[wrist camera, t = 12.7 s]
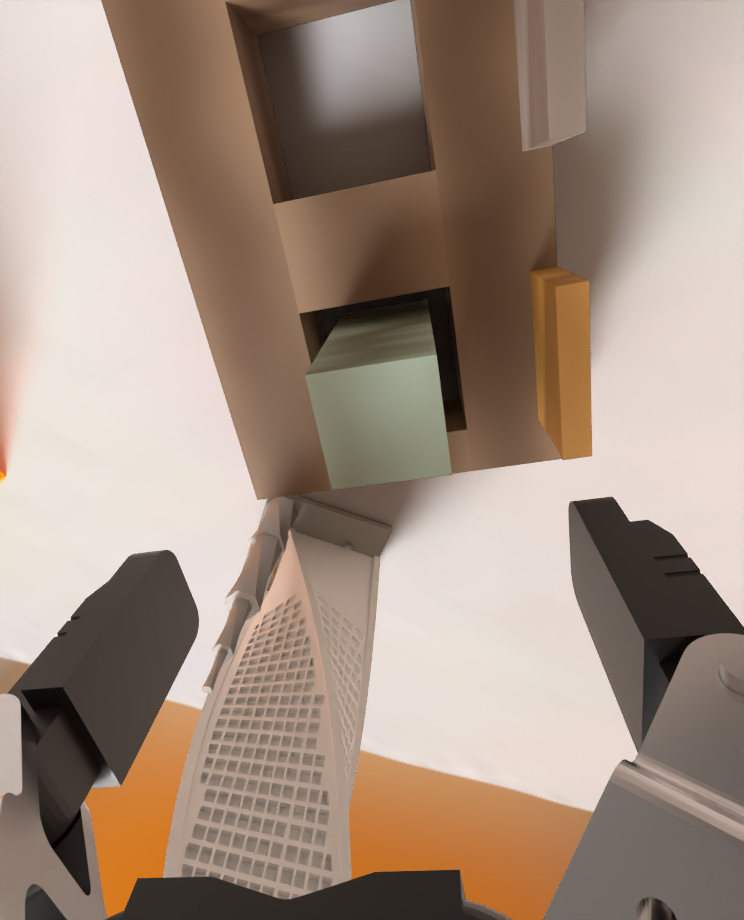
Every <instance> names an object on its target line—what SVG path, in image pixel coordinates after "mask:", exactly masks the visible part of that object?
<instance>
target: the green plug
mask: <svg viewBox="0 0 744 920" xmlns="http://www.w3.org/2000/svg"><path fill="white" fill-rule="evenodd" d="M305 377H306V382H307V386H308V390H309V394H310V399H311V403H312V407H313V411H314V416H315V420H316V424H317V428H318V433H319V437H320V441H321V445H322V450H323V454H324V458H325V462H326V467H327V471H328V475H329V479H330V484H331V488H332V490H336V489H344V488H352V487H360V486H368V485H375V484H383V483H391V482H399V481H407V480H415V479H423V478H431V477H438V476H446V475H452V470H451V463H450V455H449V447H448V439H447V432H446V424H445V416H444V408H443V400H442V393H441V385H440V377H439V369H438V362H437V354H436V348H435V342H434V337H433V331H432V325H431V319H430V313H429V307H428V301H427V299H426V300H420V301H414V302H408V303H402V304H396V305H390V306H385V307H379V308H373V309H367V310H361V311H355V312H349V313H344V314H342V315H341V317H340V318H339V320H338V322H337V323H336V325H335V326H334V328H333V330H332V331H331V333H330V335H329V336H328V338H327V340H326V341H325V343H324V345H323V346H322V348H321V350H320V351H319V353H318V355H317V356H316V358H315V359H314V361H313V363H312V364H311V366H310V368H309V369H308V371H307V373H306V374H305Z"/></svg>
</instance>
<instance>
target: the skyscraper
mask: <svg viewBox="0 0 744 920" xmlns="http://www.w3.org/2000/svg"><path fill="white" fill-rule="evenodd" d="M390 532H391V526H388V525H385V524H382V523H379V522H376V521H373V520H370V519H367V518H364V517H361V516H358V515H355V514H352V513H349V512H346V511H343V510H340V509H336V508H333V507H330V506H327V505H324V504H321V503H318V502H315V501H312V500H309V499H306V498H303V497H300V496H297V495H289V496H282V497H275V498H267V501H266V504H265V508H264V511H263V514H262V518H261V521H260V524H259V528H258V530H257V532H256V533H255V534H254V535H253V536H252V537H251V538H250V539H249V542H250V548H249V551H248V555H247V558H246V561H245V565H244V567H243V570H242V572H241V575H240V577H239V578H238V580H237V582H236V583H235V585H234V586H233V588H232V589H231V591H230V592H229V593H228V595H227V596H226V598H225V599H224V601H225V603H226V606H227V609H228V611H229V615H228V618H227V622H226V625H225V627H224V629H223V631H222V633H221V635H220V637H219V638H218V640H217V642H216V643H215V645H214V647H213V648H212V650H213V653H214V655H215V657H216V658H215V661H214V664H213V666H212V669H211V672H210V674H209V676H208V678H207V680H206V682H205V684H204V686H203V687H202V690H203V692H204V693H208V696H207V698H206V701H205V704H204V706H203V709H202V712H201V715H200V718H199V720H198V723H197V726H196V729H195V732H194V736H193V739H192V742H191V745H190V749H189V752H188V755H187V758H186V762H185V766H184V770H183V774H182V779H181V783H180V787H179V791H178V795H177V799H176V804H175V809H174V814H173V820H172V825H171V830H170V836H169V841H168V847H167V852H166V860H165V867H164V874H163V878H171V877H209V876H212V877H215V878H218V879H221V880H224V881H227V882H230V883H233V884H236V885H239V886H242V887H245V888H249V889H252V890H255V891H258V892H261V893H264V894H267V895H270V896H273V897H276V898H280V899H293V898H297V897H300V896H303V895H306V894H309V893H312V892H315V891H318V890H322V889H325V888H328V887H331V886H334V885H337V884H340V883H343V882H346V881H349V880H351V856H350V835H349V812H348V811H349V806H350V801H351V796H352V791H353V785H354V780H355V774H356V769H357V763H358V757H359V752H360V745H361V738H362V731H363V725H364V718H365V711H366V704H367V695H368V687H369V678H370V670H371V661H372V651H373V640H374V630H375V619H376V607H377V594H378V581H379V568H380V555H381V553H382V551H383V548H384V546H385V544H386V541H387V539H388V537H389V534H390ZM246 619H247V620H246ZM245 621H246V622H245Z"/></svg>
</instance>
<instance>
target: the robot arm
mask: <svg viewBox="0 0 744 920" xmlns="http://www.w3.org/2000/svg"><path fill="white" fill-rule="evenodd" d="M569 534H570V557H571V574H572V581H573V586H574V591H575V595H576V599H577V602H578V604H579V607H580V609H581V612H582V614H583V617H584V619H585V622H586V624H587V627H588V629H589V632H590V634H591V637H592V639H593V642H594V644H595V647H596V649H597V652H598V654H599V657H600V659H601V662H602V664H603V667H604V669H605V672H606V674H607V677H608V679H609V682H610V684H611V687H612V689H613V692H614V694H615V697H616V699H617V702H618V704H619V707H620V709H621V712H622V714H623V717H624V719H625V722H626V724H627V727H628V729H629V732H630V734H631V737H632V739H633V742H634V744H635V747H636V749H637V752H638V755H637V757H636V758H635V760H634V761H633V762H630V761H627V760H622V761H621V762H620V763H619V764H618V766H617V767H616V768H615V770H614V772H613V773H612V775H611V777H610V779H609V781H608V783H607V785H606V788H605V790H604V792H603V794H602V796H601V798H600V800H599V802H598V804H597V806H596V809H595V811H594V813H593V815H592V817H591V819H590V821H589V823H588V825H587V828H586V830H585V832H584V834H583V836H582V838H581V840H580V842H579V844H578V847H577V849H576V851H575V853H574V855H573V857H572V859H571V861H570V863H569V866H568V868H567V870H566V872H565V874H564V876H563V878H562V880H561V882H560V884H559V887H558V889H557V891H556V893H555V895H554V897H553V899H552V901H551V903H550V905H549V908H548V910H547V912H546V914H545V916H544V918H543V920H744V627H743V626H742V624H741V623H740V622H739V620H738V619H737V618H736V616H735V615H734V614H733V613H732V611H731V610H730V609H729V607H728V606H727V605H726V603H725V602H724V601H723V599H722V598H721V597H720V596H719V594H718V593H717V592H716V590H715V589H714V588H713V586H712V585H711V584H710V583H709V581H708V580H707V579H706V577H705V576H704V575H703V574H701V573H700V569H699V568H698V567H697V566H696V564H695V563H694V562H693V560H692V559H691V558H688V555H687V552H686V551H685V550H684V549H683V547H682V546H681V545H680V543H679V542H678V541H677V539H676V538H675V537H674V535H673V534H671V533H669V532H668V531H666V530H664V529H663V528H661V527H659V526H658V525H656V524H654V523H653V522H651V521H649V520H642V521H634V522H630V521H629V520H628V518H627V517H626V515H625V514H624V512H623V511H622V509H621V508H620V506H619V505H618V503H617V502H616V500H615V499H614V498H613V497H605V498H597V499H589V500H581V501H572V502H570V504H569ZM198 627H199V616H198V610H197V607H196V604H195V602H194V599H193V597H192V594H191V592H190V590H189V587H188V585H187V582H186V580H185V577H184V575H183V572H182V570H181V568H180V565H179V563H178V560H177V558H176V556H175V555H174V554H173V553H172V552H171V551H169V550H162V551H154V552H146V553H138V554H132V555H131V556H129V557H128V558H127V559H126V561H125V562H124V563H123V564H122V565H121V567H120V568H119V569H118V570H117V572H116V573H115V574H114V575H113V577H112V578H111V579H110V580H109V581H108V582H107V583H106V584H104V585H103V586H102V587H100V588H99V589H98V590H96V591H95V592H94V593H93V594H91V595H90V596H89V597H87V598H86V599H85V601H84V602H83V603H82V604H81V605H80V607H79V608H78V609H77V610H76V611H75V613H74V614H73V615H72V616H71V621H67V622H66V624H65V625H64V626H63V627H62V628H61V630H60V631H59V632H58V637H54V638H53V639H52V640H51V642H50V643H49V644H48V645H47V646H46V648H45V649H44V650H43V651H42V652H41V654H40V655H39V656H38V657H37V658H36V660H35V661H34V662H33V663H32V664H31V666H30V667H29V668H28V669H27V671H26V672H25V673H24V674H23V675H22V677H21V678H20V679H19V680H18V681H17V683H16V684H15V685H14V686H13V687H12V689H11V690H10V691H9V692H8V693H7V694H0V920H512V919H511V918H509V917H507V916H506V915H504V914H502V913H499V912H497V911H495V910H493V909H491V908H488V907H486V906H484V905H481V904H478V903H475V902H471V901H468V900H466V898H465V893H464V888H463V883H462V878H461V874H460V870H437V871H399V872H374V873H371V874H368V875H365V876H362V877H359V878H355V879H352V880H349V881H346V882H343V883H340V884H337V885H334V886H331V887H328V888H325V889H322V890H318V891H315V892H312V893H309V894H306V895H303V896H300V897H297V898H293V899H280V898H276V897H273V896H270V895H267V894H264V893H261V892H258V891H255V890H252V889H249V888H245V887H242V886H239V885H236V884H233V883H230V882H227V881H224V880H221V879H218V878H215V877H212V876H209V877H171V878H138V879H137V881H136V884H135V886H134V889H133V891H132V893H131V896H130V898H129V901H128V903H127V906H126V908H125V911H123V912H120V913H118V914H115V915H113V916H111V917H109V918H107V915H106V910H105V906H104V900H103V893H102V887H101V879H100V873H99V866H98V859H97V853H96V846H95V839H94V832H93V826H92V819H91V814H90V810H89V809H88V807H87V806H86V804H85V802H84V800H85V798H86V796H87V795H88V793H89V791H90V789H91V788H100V787H118V786H121V785H122V783H123V781H124V779H125V777H126V775H127V773H128V771H129V769H130V767H131V766H132V764H133V762H134V760H135V758H136V756H137V754H138V752H139V750H140V748H141V746H142V744H143V742H144V740H145V738H146V736H147V734H148V732H149V730H150V728H151V726H152V724H153V722H154V720H155V718H156V716H157V714H158V712H159V710H160V708H161V706H162V704H163V702H164V700H165V698H166V696H167V694H168V692H169V690H170V688H171V686H172V684H173V682H174V680H175V678H176V676H177V674H178V672H179V670H180V668H181V666H182V665H183V663H184V661H185V659H186V657H187V655H188V653H189V651H190V649H191V647H192V645H193V643H194V641H195V639H196V636H197V633H198Z"/></svg>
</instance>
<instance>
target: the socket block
mask: <svg viewBox="0 0 744 920" xmlns="http://www.w3.org/2000/svg"><path fill="white" fill-rule="evenodd" d="M101 1H102V4H103V7H104V11H105V14H106V17H107V20H108V23H109V27H110V30H111V33H112V36H113V39H114V42H115V46H116V49H117V52H118V55H119V58H120V62H121V65H122V68H123V71H124V74H125V78H126V81H127V84H128V87H129V90H130V94H131V97H132V100H133V103H134V106H135V110H136V113H137V116H138V119H139V122H140V126H141V129H142V132H143V135H144V138H145V142H146V145H147V148H148V151H149V154H150V158H151V161H152V164H153V167H154V170H155V174H156V177H157V180H158V183H159V186H160V190H161V193H162V196H163V199H164V202H165V206H166V209H167V212H168V215H169V218H170V222H171V225H172V228H173V231H174V234H175V238H176V241H177V244H178V247H179V250H180V254H181V257H182V260H183V263H184V266H185V270H186V273H187V276H188V279H189V282H190V286H191V289H192V292H193V295H194V298H195V302H196V305H197V308H198V311H199V314H200V318H201V321H202V324H203V327H204V330H205V334H206V337H207V340H208V343H209V346H210V350H211V353H212V356H213V359H214V362H215V366H216V369H217V372H218V375H219V378H220V382H221V385H222V388H223V391H224V394H225V398H226V401H227V404H228V407H229V410H230V414H231V417H232V420H233V423H234V426H235V430H236V433H237V436H238V439H239V442H240V446H241V449H242V452H243V455H244V458H245V462H246V465H247V468H248V471H249V474H250V478H251V481H252V484H253V487H254V490H255V494H256V497H257V500H260V499H267V498H275V497H282V496H289V495H297V494H304V493H312V492H319V491H326V490H332V488H331V484H330V479H329V475H328V471H327V467H326V462H325V458H324V454H323V450H322V445H321V441H320V437H319V433H318V428H317V424H316V420H315V416H314V411H313V407H312V403H311V399H310V394H309V390H308V386H307V382H306V377H305V374H306V373H307V371H308V369H309V368H310V366H311V364H312V363H313V361H314V359H315V358H316V356H317V355H318V353H319V351H320V350H321V348H322V346H323V345H324V343H325V341H324V336H323V332H322V327H321V323H320V318H319V314H318V310H321V309H327V308H332V307H338V306H343V305H349V304H354V303H360V302H365V301H371V300H376V299H382V298H387V297H393V296H398V295H404V294H409V293H415V292H421V291H426V290H432V289H437V288H443V287H446V294H447V302H448V310H449V318H450V326H451V334H452V342H453V350H454V358H455V366H456V375H457V383H458V391H459V399H456V400H450V401H443V408H444V416H445V424H446V432H447V439H448V447H449V455H450V463H451V470H452V474H453V473H460V472H467V471H475V470H482V469H490V468H497V467H504V466H512V465H519V464H527V463H534V462H542V461H549V460H556V459H563V460H566V459H574V458H581V457H589V456H592V425H591V366H590V308H589V281H588V280H586V279H584V278H581V277H579V276H577V275H575V274H572V273H570V272H568V271H566V270H563V269H561V268H559V267H557V249H556V224H555V200H554V175H553V150H552V145H555V144H557V143H560V142H562V141H565V140H567V139H570V138H572V137H575V136H577V135H580V134H583V133H585V132H586V73H585V14H584V0H410V2H411V10H412V18H413V26H414V35H415V43H416V51H417V59H418V67H419V75H420V83H421V91H422V99H423V107H424V115H425V124H426V132H427V140H428V148H429V156H430V164H431V171H429V172H424V173H419V174H414V175H410V176H405V177H400V178H395V179H391V180H386V181H381V182H376V183H372V184H367V185H362V186H357V187H353V188H348V189H343V190H338V191H334V192H329V193H324V194H319V195H315V196H310V197H305V198H301V199H296V200H293V197H292V192H291V188H290V183H289V179H288V174H287V170H286V165H285V161H284V156H283V152H282V147H281V143H280V138H279V134H278V129H277V125H276V120H275V116H274V111H273V107H272V102H271V98H270V93H269V89H268V84H267V80H266V75H265V71H264V66H263V62H262V57H261V53H260V48H259V44H258V39H257V36H258V35H262V34H266V33H270V32H274V31H278V30H281V29H285V28H289V27H293V26H297V25H301V24H305V23H309V22H313V21H317V20H321V19H324V18H328V17H332V16H336V15H340V14H344V13H348V12H352V11H356V10H360V9H364V8H367V7H371V6H375V5H379V4H383V3H387V2H391V1H395V0H101Z"/></svg>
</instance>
